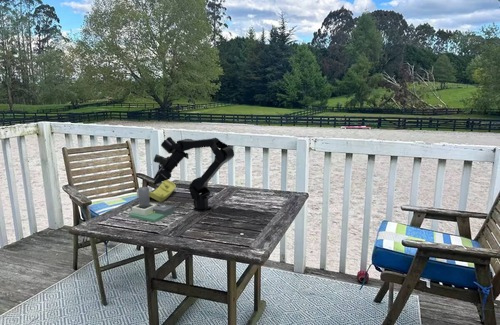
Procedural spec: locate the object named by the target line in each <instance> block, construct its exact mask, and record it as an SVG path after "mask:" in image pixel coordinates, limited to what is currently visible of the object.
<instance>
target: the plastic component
mask: <svg viewBox="0 0 500 325" xmlns="http://www.w3.org/2000/svg"><path fill="white" fill-rule="evenodd" d="M176 187H177V186H176V184H175V183H174V182H173V181H171V180H170V179H168V180H165V181H163V182H161V183H160V185H159V186H158V187H157V188H155V190H153V191H152V190H149V198H152V199H154V200H155V201H156V202H161V203H162V202H164V201H165V200H166V199H167V198H169V197H170V196H171V195H172V193H174V191H175V189H176Z"/></svg>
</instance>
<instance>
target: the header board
mask: <svg viewBox="0 0 500 325" xmlns="http://www.w3.org/2000/svg"><path fill="white" fill-rule="evenodd" d="M174 213H175V206H174V205H169V204H160V205H158V204H156V203H152V202H150V207H148V208H146V209H142V208H139V204H136V205H134V206H131V213H129V215H128V216H129V217H130V218H133V219H138V220H142V221H148V222H152V223H157V222H159V221H160V220H162V219H164V218H166V217H167V216H170V215H172V214H174Z"/></svg>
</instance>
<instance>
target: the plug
mask: <svg viewBox="0 0 500 325" xmlns="http://www.w3.org/2000/svg"><path fill="white" fill-rule="evenodd" d="M149 191H150V187H149V186H142V187H138V188H137V189H136V197H137V198H138V205H139V208H142V209H146V208H148V207H150V203H151V202H150V198H151V197H150V198H149Z"/></svg>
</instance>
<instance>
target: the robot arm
mask: <svg viewBox="0 0 500 325" xmlns="http://www.w3.org/2000/svg"><path fill="white" fill-rule="evenodd" d="M160 146H161V147H162V149H164V150H165V151H166V153H167V154H170V155H169V156H167V157H165V156H162V155H159V154H155V156H154V157H153V162H154V163H156V164H158V170H157V172H156V173H155V175H154V177H153V180H154V182H152V184H153V185H154V186H156V185H159V184H161V183H162V182H163V181H165V180H170V179H171V177H172V173H173V170H174V169H175V168H176V167H178V166H179V164H180V162H181V161H182V160H183V159H184V158H185V159H187V160H189V153H188V152H185V151H189V150H193V149H198V148H199V149H202V148H210V149H211V151H212V153H213V154H214V160H213V162H212V163H211V164H210V166H209V167H208V168H207V169H206V170H205V171H204V172H203V174H202V175H201V176H198V177H197V178H194V179H193V180H192V181H191V182H190V183H189V186H188V190H189V194H190V197H191V199H192V200H193V208H192V210H193V211H198V212H205V211H207V210H208V209H211V208H210V207H211V206H210V205H209V200H208V199H209V196H210V194H211V191H210V190H209V188H208V184H209V182H210V181H211V180H212V178H213V177H214V176H215V175H216V174H217V173H218V171H219V170H220V169H221V167H222V166H224V164H226V163H228V162H230V160H233V158H234V157H235V151H234V149H233V148H232V147H230V146H229V145H228V144H226V143H225V142H223V141H221V140H220V139H219V138H217V137H212V138H205V139H192V138H184V139H180V140H177V142H176V141H175V140H173V139H172V137H171V136H169V137H166V139H164V141H162V142H161V144H160Z"/></svg>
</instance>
